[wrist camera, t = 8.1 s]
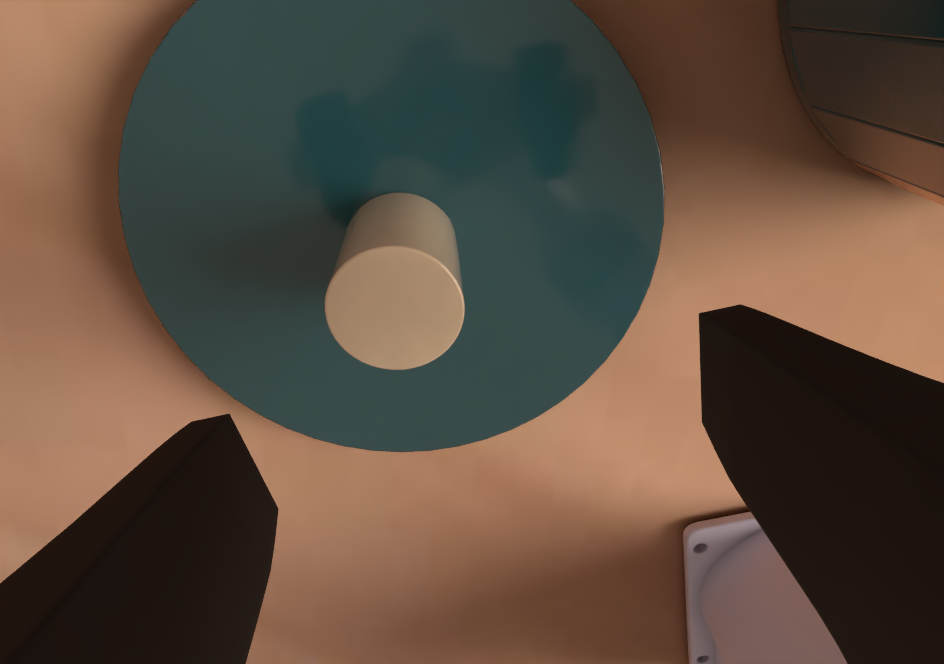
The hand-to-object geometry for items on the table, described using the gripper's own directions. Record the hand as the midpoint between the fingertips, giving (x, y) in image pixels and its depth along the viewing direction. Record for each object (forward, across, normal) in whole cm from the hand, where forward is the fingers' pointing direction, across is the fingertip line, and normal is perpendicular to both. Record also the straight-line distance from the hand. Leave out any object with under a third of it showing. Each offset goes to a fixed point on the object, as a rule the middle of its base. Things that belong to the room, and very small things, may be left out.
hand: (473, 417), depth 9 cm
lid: (+8, +1, 0) cm, 8 cm away
